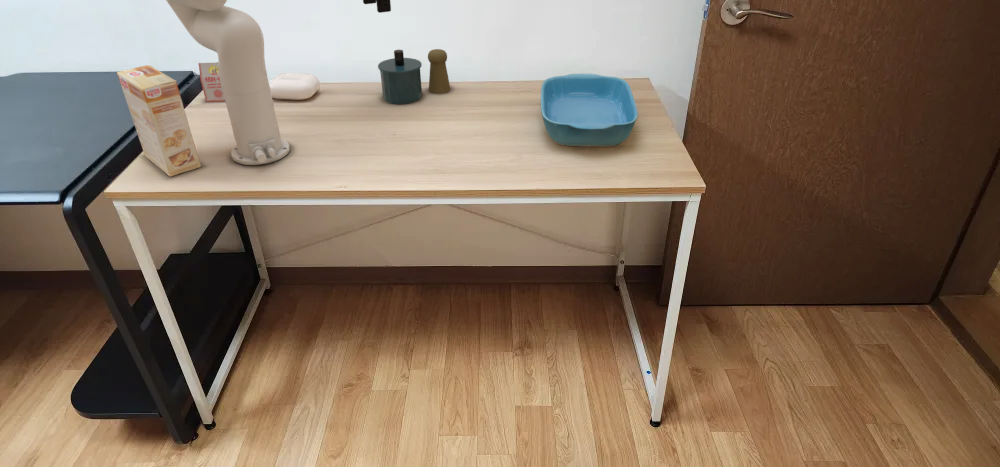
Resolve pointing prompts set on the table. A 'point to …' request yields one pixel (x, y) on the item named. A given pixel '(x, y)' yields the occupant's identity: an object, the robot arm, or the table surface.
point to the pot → (401, 87)
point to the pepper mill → (438, 72)
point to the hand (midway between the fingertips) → (376, 7)
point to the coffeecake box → (159, 119)
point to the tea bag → (211, 82)
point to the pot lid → (399, 64)
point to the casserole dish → (588, 109)
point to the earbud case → (294, 86)
